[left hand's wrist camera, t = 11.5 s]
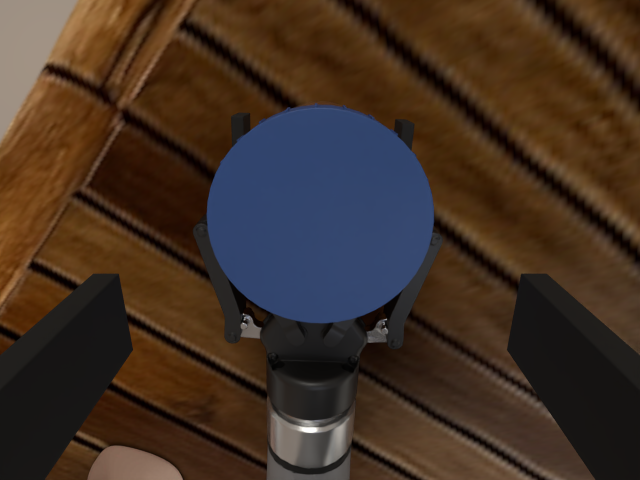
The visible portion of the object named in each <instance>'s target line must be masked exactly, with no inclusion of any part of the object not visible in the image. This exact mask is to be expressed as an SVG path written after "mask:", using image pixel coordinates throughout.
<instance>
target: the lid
mask: <svg viewBox="0 0 640 480" xmlns="http://www.w3.org/2000/svg"><path fill="white" fill-rule="evenodd" d="M397 136H398V134H397V133H396V132H394V131H393V130H392V129H391V130H389V129H388V128H387V127H385V126H384V125H382V124H381V123H379V122H378V121H376V120H375V119H374V117H372V116H371V115H368V116H367V115H365V114H363V113H361V112H358V111H355V110H352V109H349V108H346V107H345V106H344V105H343V106H342V107H340V106H334V105H317V103H315V105H308V106H300V107H296V108H292V109H290V107H289V108H287V109H286V110H285V111H283V112H280V113H278V114H275V115H273V116H271V117H270V118H268V119H265V118H264V119H263V120H261V121H260V122H259V124H258V125H257V126H256V127H254V128H253V129H252V130H251V131H249V132H248V133H247V134H246V135H243V136H241V137H240V138H239V139H237V143H236V144H235V145H234V146H233V147H232V148H231V150H230V151H229V152H228V154H227V155H226V157H225V158H224V159H223V160H222V161H221V162H220V164H221V165H220V166H219V168H218V170H217V172H216V174H215V177H214V180H213V182H212V185H211V188H210V193H209V198H208V205H207V225H208V233H209V238H210V243H211V246H212V248H213V251H214V254H215V257H216V259H217V261H218V263H219V265H220V266H221V268H222V270H223V271H224V273H225V274H226V276H227V277H228V279H229V280H230V281H231V282H232V283H233V285H234V286H235V287H236V288H237V289H238V290H239V291H240V292H241V293H242V294H243V295H245V296H246V297H247V298H248V299H249V300H251V301H252V302H254V303H255V304H257V305H258V306H259V307H261V308H263V309H265V310H267V311H269V312H271V313H273V314H276V315H278V316H281V317H284V318H287V319H291V320H295V321H300V322H308V323H333V322H340V321H345V320H350V319H354V318H357V317H360V316H363V315H365V314H367V313H370V312H372V311H374V310H376V309H378V308H379V307H381V306H383V305H384V304H386V303H387V302H389V301H390V300H391V299H393V298H394V297H395V296H396V295H398V294H399V293H400V292H401V291H402V290H403V289H404V288H405V287H406V286H407V285H408V283H409V282H410V281H411V279H412V278H413V277H414V276H415V274H416V273H417V271H418V269H419V268H420V266H421V264H422V263H423V260H424V258H425V256H426V253H427V251H428V248H429V245H430V241H431V237H432V232H433V224H434V206H433V200H432V193H431V190H430V186H429V183H428V179H427V177H426V175H425V173H424V171H423V168H422V166H421V165H420V163H419V161H418V160H417V158H416V155H415V154H414V153H413V152H412V151H411V150H410V149H409V148H408V147H407V145H406V144H405V143H404V142H403V141H402V140H401V139H400V138H399V137H397Z"/></svg>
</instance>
